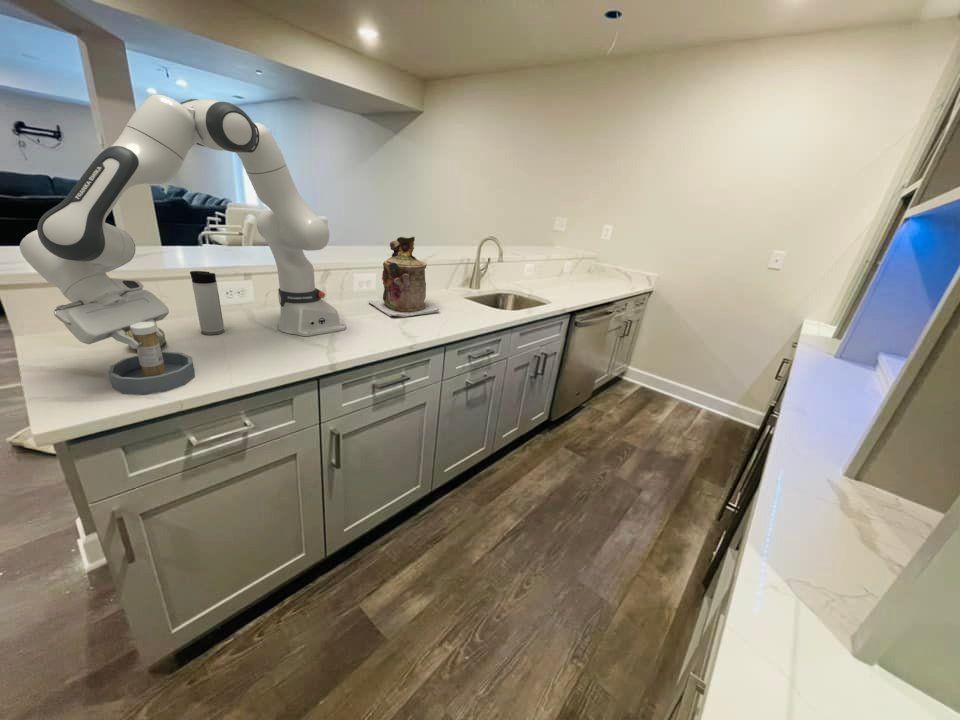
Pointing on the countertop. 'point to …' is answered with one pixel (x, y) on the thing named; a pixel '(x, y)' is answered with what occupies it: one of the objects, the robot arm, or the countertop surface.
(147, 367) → the sprinkles bottle
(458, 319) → the countertop surface
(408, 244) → the cookie jar
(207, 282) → the travel mug
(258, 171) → the robot arm
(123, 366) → the slate bowl
